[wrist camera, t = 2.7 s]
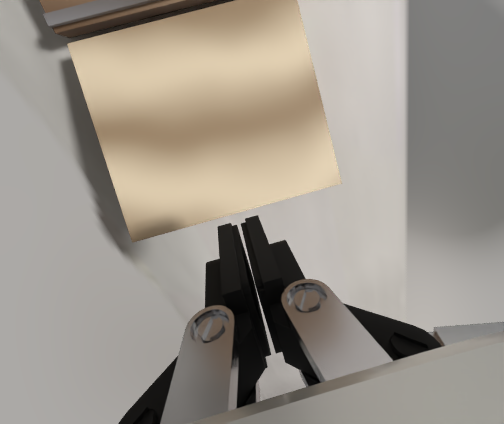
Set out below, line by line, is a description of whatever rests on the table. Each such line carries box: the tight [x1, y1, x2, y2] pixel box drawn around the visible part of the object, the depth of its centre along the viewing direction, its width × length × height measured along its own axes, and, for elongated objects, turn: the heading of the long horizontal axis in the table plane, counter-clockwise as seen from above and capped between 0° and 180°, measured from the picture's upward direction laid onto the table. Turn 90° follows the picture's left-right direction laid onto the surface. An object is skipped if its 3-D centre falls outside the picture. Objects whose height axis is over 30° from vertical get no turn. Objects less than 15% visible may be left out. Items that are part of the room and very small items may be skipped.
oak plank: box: [67, 0, 342, 243], centre depth 15 cm, size 11×12×2 cm
